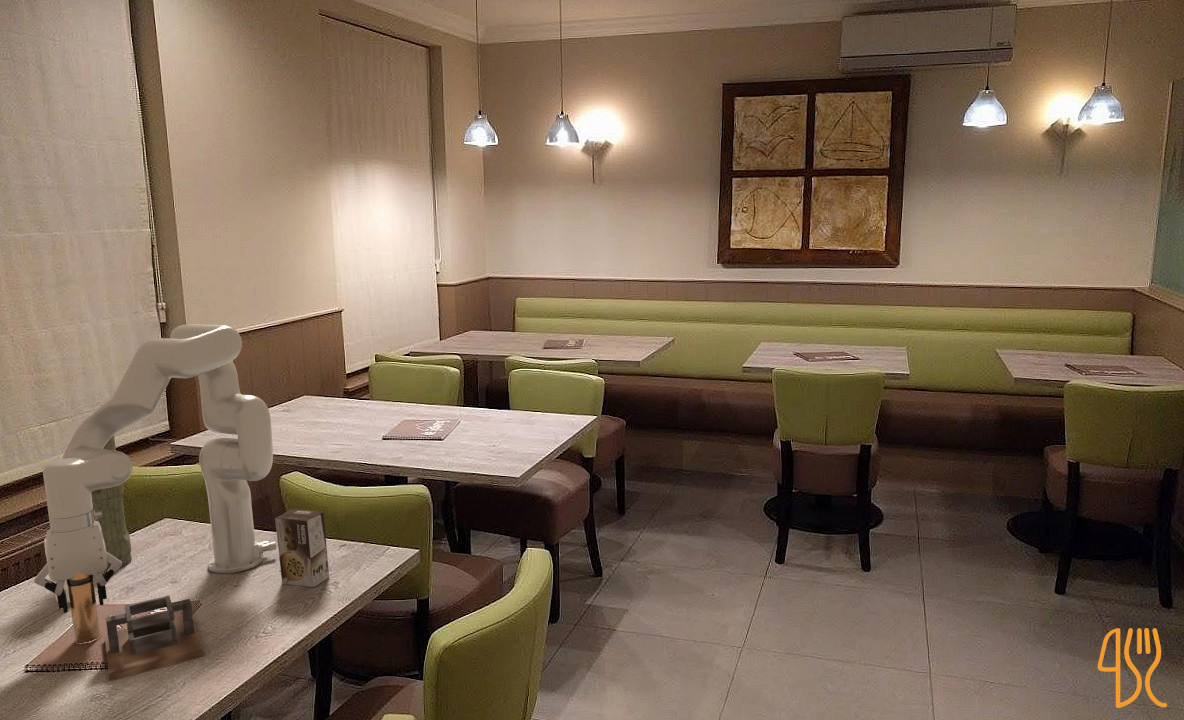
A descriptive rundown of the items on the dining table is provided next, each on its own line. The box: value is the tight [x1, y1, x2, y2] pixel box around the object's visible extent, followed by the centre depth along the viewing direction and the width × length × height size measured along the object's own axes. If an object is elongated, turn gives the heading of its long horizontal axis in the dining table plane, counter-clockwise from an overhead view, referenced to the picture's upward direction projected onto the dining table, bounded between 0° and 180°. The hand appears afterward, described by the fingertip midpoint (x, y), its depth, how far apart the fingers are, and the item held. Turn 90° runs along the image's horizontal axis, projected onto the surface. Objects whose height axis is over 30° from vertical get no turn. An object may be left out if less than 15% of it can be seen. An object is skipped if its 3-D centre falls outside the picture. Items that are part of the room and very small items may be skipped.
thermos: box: [91, 434, 133, 571], centre depth 209 cm, size 9×12×35 cm
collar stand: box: [104, 595, 205, 681], centre depth 168 cm, size 16×18×8 cm
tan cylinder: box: [67, 572, 101, 643], centre depth 172 cm, size 5×5×16 cm
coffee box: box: [274, 508, 330, 588], centre depth 198 cm, size 9×6×16 cm
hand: (83, 606), depth 172 cm, fingers open, 5 cm apart
